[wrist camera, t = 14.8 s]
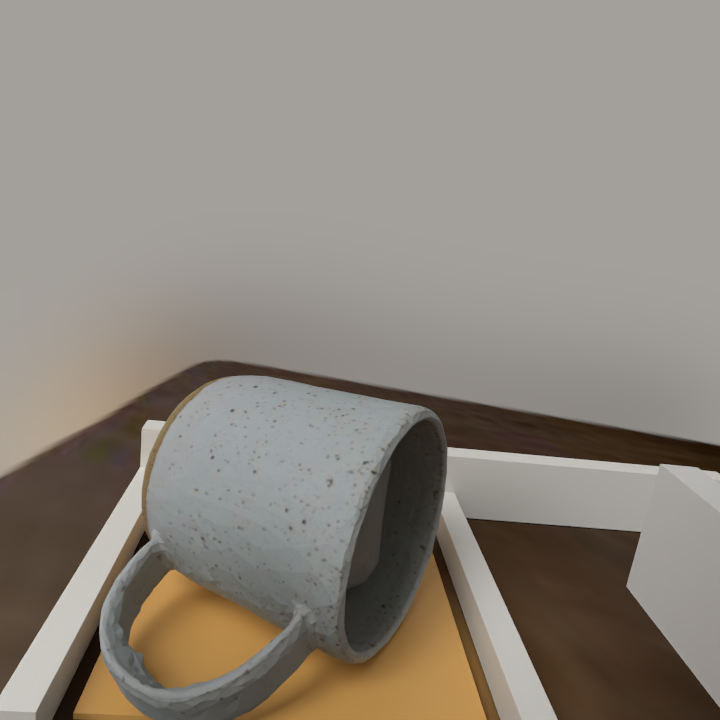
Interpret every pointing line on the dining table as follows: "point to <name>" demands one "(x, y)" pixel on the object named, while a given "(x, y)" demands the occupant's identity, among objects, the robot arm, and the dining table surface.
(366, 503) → the ceramic mug
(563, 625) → the dining table surface
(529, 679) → the bay rack
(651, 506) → the robot arm
